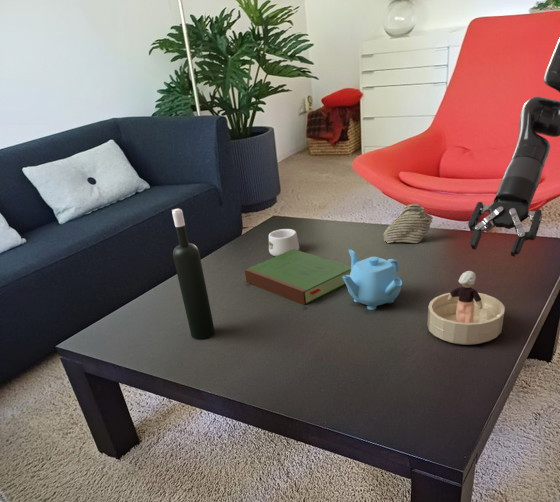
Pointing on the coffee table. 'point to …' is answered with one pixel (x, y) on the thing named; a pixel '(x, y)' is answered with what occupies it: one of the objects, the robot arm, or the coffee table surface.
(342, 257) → the coffee table surface
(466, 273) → the grandmother figurine
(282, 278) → the hardcover book
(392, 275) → the teapot
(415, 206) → the fossil tooth
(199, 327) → the wine bottle
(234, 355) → the coffee table surface
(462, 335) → the bowl
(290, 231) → the mug
